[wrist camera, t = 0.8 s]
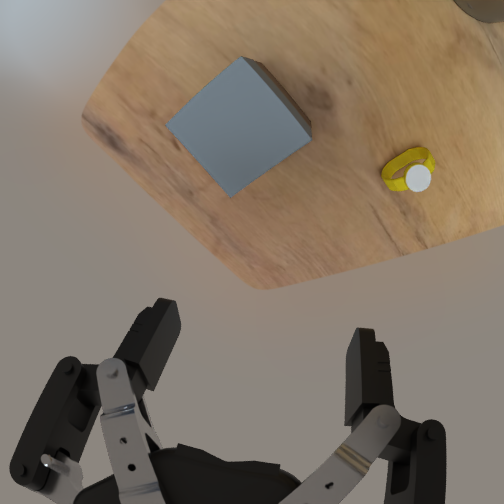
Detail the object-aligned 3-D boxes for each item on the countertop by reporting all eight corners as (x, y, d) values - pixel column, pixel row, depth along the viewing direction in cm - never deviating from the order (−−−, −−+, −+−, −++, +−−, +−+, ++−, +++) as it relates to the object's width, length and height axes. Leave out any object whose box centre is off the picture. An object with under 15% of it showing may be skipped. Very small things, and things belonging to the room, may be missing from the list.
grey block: (253, 59, 21) (240, 56, 17) (311, 128, 24) (312, 140, 20) (188, 115, 25) (165, 125, 21) (242, 177, 28) (230, 197, 24)
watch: (413, 137, 26) (437, 149, 21) (424, 157, 27) (448, 173, 22) (372, 165, 29) (388, 182, 24) (384, 185, 30) (401, 205, 25)
